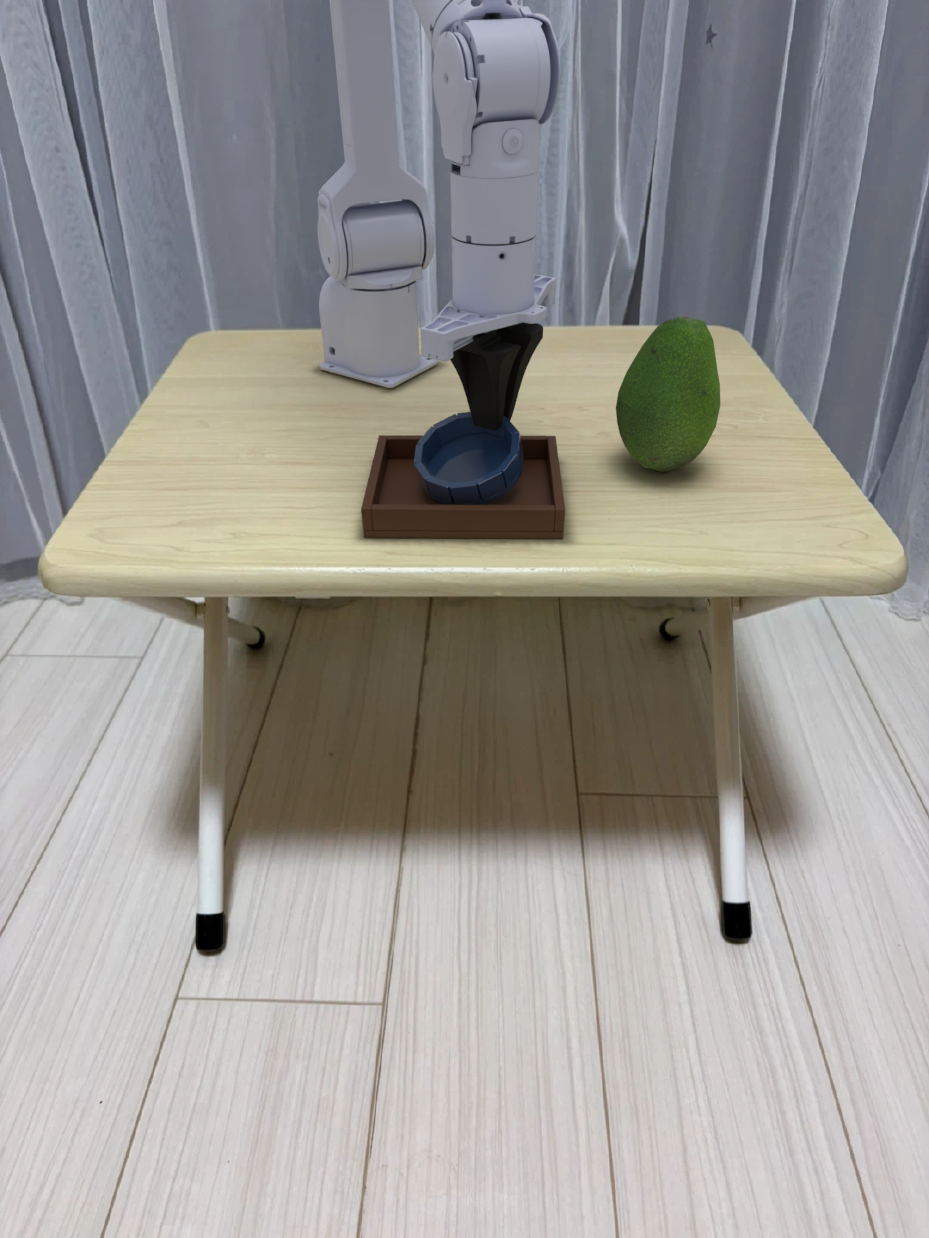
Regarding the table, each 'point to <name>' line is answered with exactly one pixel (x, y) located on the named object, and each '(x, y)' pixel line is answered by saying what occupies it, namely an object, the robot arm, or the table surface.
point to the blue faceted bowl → (468, 461)
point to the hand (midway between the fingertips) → (492, 423)
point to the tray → (412, 513)
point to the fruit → (670, 396)
